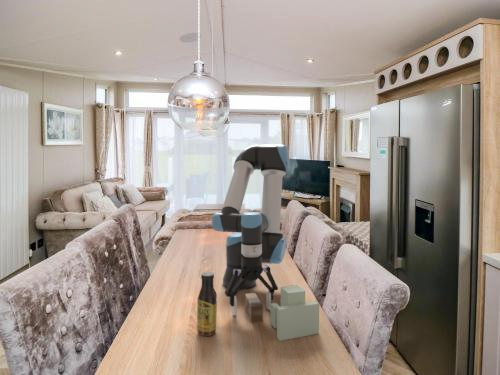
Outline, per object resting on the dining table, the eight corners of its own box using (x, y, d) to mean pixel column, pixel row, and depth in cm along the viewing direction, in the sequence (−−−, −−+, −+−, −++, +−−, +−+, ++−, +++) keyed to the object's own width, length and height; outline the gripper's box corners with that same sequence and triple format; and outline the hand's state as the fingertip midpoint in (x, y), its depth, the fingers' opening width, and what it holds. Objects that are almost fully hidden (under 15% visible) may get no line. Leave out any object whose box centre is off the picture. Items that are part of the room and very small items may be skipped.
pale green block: (265, 324, 121) (265, 284, 120) (301, 317, 126) (301, 279, 125) (279, 340, 110) (279, 297, 109) (318, 333, 115) (319, 291, 114)
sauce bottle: (193, 333, 115) (192, 273, 114) (206, 326, 120) (206, 269, 119) (207, 339, 111) (206, 278, 110) (221, 331, 116) (220, 272, 115)
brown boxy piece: (244, 309, 134) (244, 292, 134) (255, 308, 135) (255, 291, 134) (251, 323, 122) (251, 305, 122) (262, 322, 123) (262, 304, 123)
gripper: (221, 260, 122) (222, 320, 123) (286, 254, 130) (286, 310, 131) (216, 255, 129) (216, 312, 130) (278, 249, 137) (278, 302, 138)
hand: (251, 311), depth 131 cm, fingers open, 13 cm apart
